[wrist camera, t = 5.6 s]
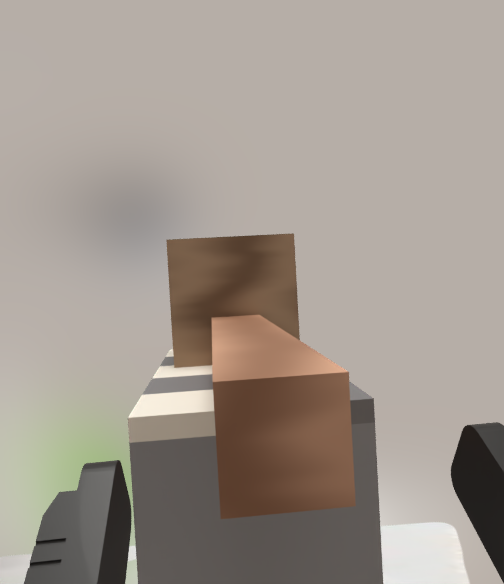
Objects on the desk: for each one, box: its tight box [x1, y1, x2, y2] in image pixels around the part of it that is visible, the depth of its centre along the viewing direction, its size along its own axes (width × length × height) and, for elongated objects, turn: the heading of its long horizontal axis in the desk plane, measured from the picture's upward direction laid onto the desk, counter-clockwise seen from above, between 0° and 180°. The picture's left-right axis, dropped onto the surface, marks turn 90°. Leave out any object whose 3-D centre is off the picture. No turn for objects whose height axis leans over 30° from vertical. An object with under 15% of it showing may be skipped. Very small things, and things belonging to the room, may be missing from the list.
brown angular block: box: [167, 234, 356, 519], centre depth 24 cm, size 8×28×8 cm, turn 5°
